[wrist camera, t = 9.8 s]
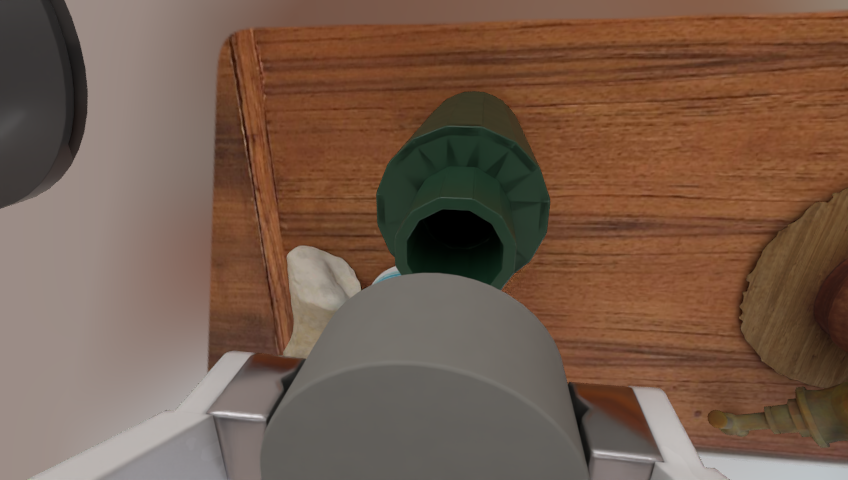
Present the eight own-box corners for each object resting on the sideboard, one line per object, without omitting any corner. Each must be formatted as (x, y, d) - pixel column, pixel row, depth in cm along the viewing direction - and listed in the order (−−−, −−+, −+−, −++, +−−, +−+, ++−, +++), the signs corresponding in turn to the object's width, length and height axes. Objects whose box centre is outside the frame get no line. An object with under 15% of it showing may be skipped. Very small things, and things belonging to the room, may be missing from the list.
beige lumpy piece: (297, 235, 37) (273, 260, 33) (371, 250, 37) (357, 277, 32) (291, 345, 42) (269, 380, 37) (357, 359, 41) (342, 395, 37)
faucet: (1001, 449, 31) (753, 460, 41) (965, 388, 33) (737, 411, 43) (1014, 423, 23) (696, 444, 32) (964, 342, 25) (679, 384, 34)
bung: (346, 409, 11) (279, 580, 8) (332, 232, 9) (234, 346, 6) (541, 429, 11) (569, 625, 7) (567, 245, 9) (623, 381, 5)
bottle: (425, 184, 34) (354, 337, 16) (425, 90, 31) (342, 143, 13) (515, 188, 33) (552, 353, 15) (524, 92, 31) (581, 150, 12)
